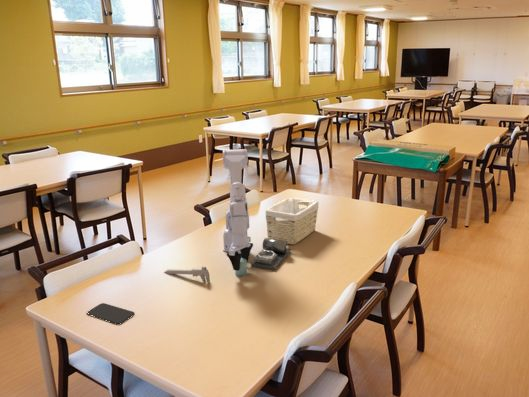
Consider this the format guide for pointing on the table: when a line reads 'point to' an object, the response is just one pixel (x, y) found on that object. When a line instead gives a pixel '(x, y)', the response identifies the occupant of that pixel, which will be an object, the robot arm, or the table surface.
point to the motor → (271, 254)
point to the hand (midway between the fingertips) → (240, 265)
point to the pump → (243, 267)
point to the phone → (111, 313)
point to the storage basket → (291, 220)
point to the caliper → (192, 273)
